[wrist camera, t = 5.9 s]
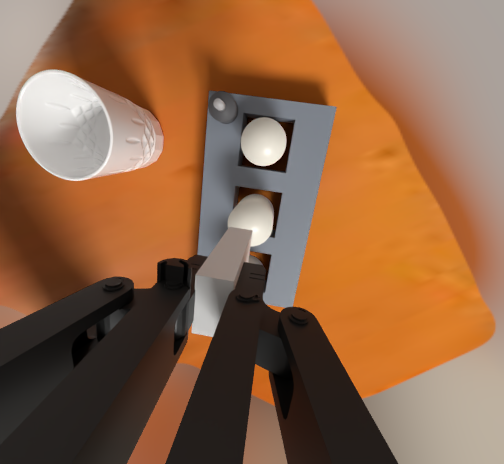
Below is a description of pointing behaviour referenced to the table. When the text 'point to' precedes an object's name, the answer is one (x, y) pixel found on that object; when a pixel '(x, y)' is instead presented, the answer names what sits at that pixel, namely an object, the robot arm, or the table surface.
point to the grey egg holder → (265, 181)
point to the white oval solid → (253, 217)
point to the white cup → (84, 127)
